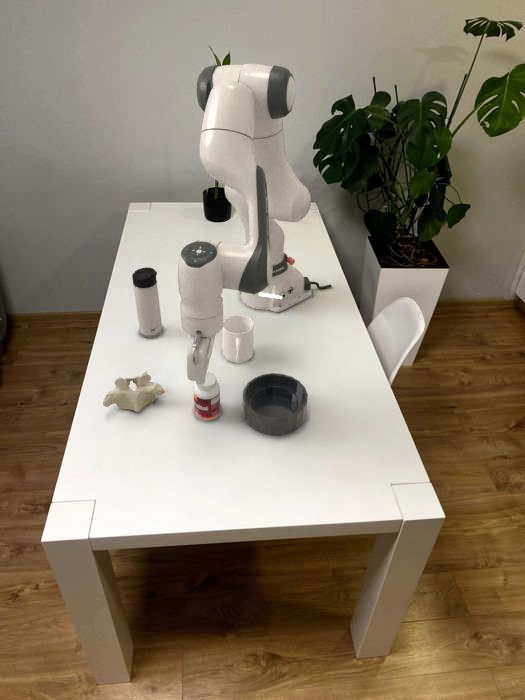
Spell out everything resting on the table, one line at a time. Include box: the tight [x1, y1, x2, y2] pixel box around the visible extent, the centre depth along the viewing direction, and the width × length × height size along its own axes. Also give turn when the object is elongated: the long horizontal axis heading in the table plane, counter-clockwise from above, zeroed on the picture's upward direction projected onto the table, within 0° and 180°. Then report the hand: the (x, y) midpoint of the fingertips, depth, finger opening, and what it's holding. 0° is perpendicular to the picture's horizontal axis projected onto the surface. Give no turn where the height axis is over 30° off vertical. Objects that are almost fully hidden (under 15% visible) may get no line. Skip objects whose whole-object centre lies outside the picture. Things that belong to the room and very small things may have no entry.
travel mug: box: [131, 267, 163, 339], centre depth 149 cm, size 6×7×20 cm
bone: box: [102, 370, 166, 413], centre depth 131 cm, size 9×14×8 cm, turn 125°
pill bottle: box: [193, 371, 221, 421], centre depth 128 cm, size 6×6×11 cm
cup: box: [221, 314, 255, 365], centre depth 144 cm, size 8×12×10 cm
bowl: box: [242, 372, 309, 436], centre depth 130 cm, size 15×15×6 cm
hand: (204, 368), depth 122 cm, fingers open, 8 cm apart
